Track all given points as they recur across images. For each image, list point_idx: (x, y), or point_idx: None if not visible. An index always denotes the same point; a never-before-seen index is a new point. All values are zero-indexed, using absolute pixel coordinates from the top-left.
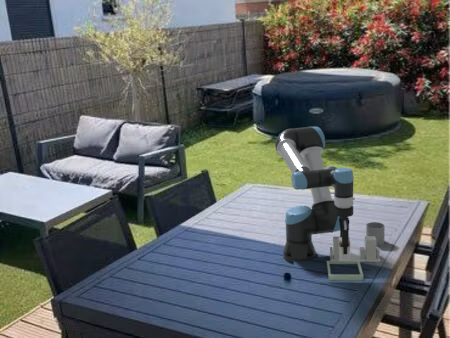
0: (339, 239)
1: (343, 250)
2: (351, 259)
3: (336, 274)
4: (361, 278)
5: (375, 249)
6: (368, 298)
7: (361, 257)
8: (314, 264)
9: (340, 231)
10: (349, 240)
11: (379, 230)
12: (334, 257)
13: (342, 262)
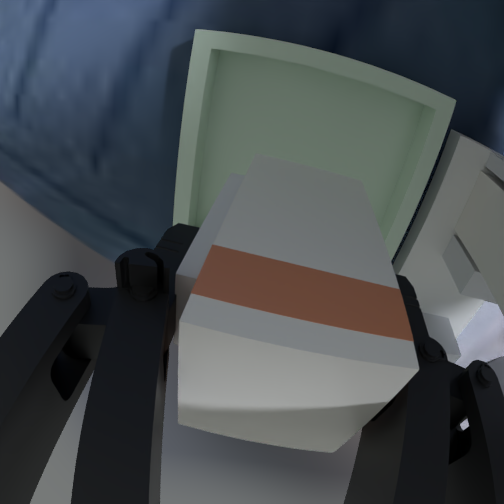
0: (276, 352)
1: (166, 252)
2: (429, 266)
3: (203, 88)
4: None
5: None
6: (41, 198)
7: None
8: (479, 31)
9: (486, 454)
10: (198, 425)
11: None
12: (484, 179)
13: (401, 198)
